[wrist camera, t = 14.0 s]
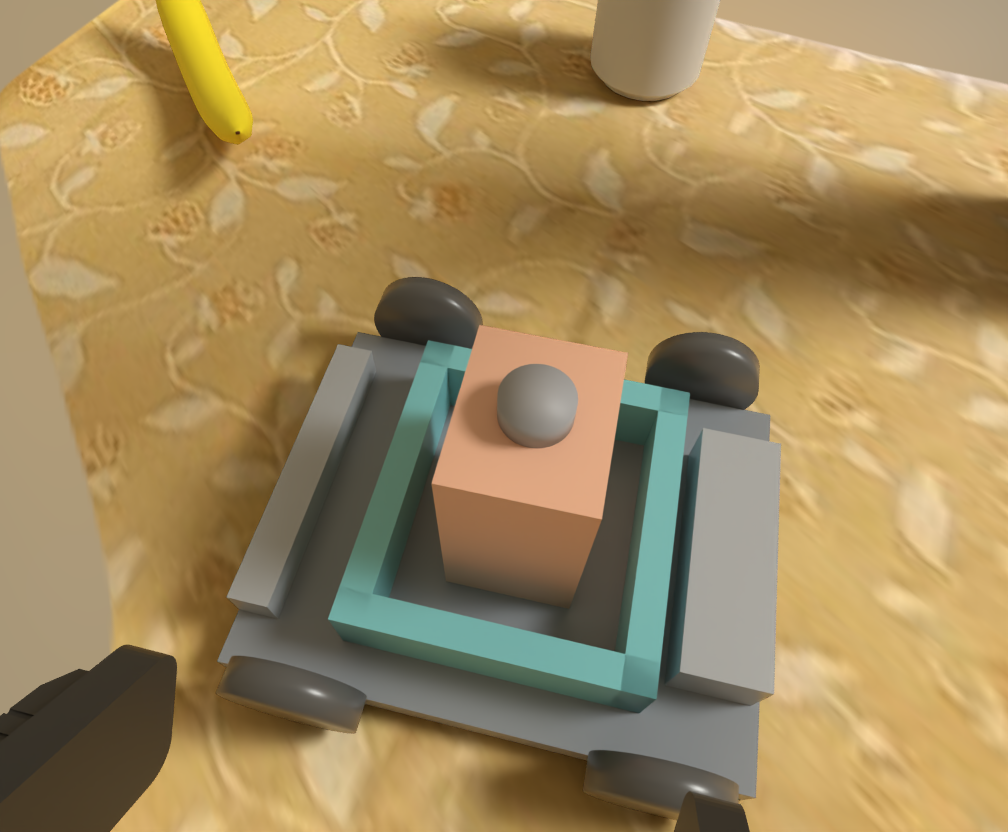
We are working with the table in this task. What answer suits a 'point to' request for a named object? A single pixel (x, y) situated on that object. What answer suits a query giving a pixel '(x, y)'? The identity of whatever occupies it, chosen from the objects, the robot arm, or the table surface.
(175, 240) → the table surface
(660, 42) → the can
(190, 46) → the banana
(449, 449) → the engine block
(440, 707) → the chassis
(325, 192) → the table surface
